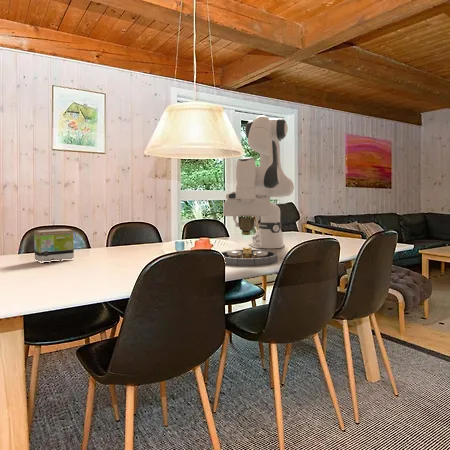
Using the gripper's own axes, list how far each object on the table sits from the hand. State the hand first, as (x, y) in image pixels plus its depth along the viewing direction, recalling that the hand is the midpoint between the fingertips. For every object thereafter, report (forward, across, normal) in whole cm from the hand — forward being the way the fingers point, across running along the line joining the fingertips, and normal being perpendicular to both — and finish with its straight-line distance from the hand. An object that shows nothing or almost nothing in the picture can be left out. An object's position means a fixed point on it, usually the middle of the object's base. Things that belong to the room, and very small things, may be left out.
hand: (246, 226), depth 172 cm
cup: (+4, 0, 0) cm, 4 cm away
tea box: (+17, +91, -4) cm, 92 cm away
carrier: (+16, 0, -7) cm, 18 cm away
